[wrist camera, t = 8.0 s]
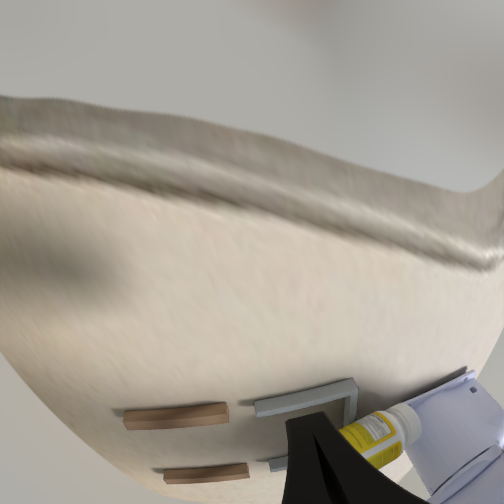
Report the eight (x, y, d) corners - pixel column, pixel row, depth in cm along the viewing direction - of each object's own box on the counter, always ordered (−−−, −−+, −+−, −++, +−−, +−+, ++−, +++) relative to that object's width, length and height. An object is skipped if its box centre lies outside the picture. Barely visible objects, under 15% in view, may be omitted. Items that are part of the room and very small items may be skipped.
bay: (352, 377, 21) (358, 387, 20) (347, 443, 24) (351, 452, 23) (253, 401, 20) (255, 412, 19) (268, 462, 23) (270, 472, 22)
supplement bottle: (319, 487, 19) (401, 445, 21) (339, 498, 15) (431, 444, 17) (301, 440, 21) (385, 401, 23) (319, 443, 17) (414, 394, 19)
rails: (225, 402, 20) (226, 413, 19) (248, 468, 23) (249, 477, 22) (125, 411, 20) (122, 422, 19) (167, 474, 23) (167, 484, 22)
